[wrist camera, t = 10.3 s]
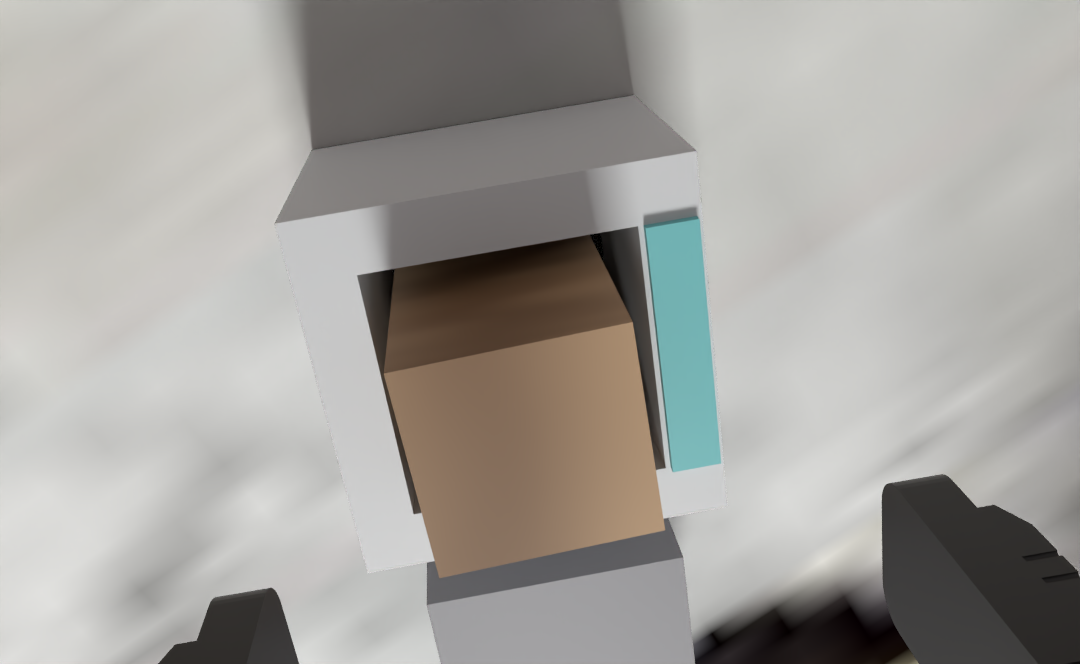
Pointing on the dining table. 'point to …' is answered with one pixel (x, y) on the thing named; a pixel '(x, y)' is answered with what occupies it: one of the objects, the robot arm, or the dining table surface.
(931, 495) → the robot arm
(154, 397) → the dining table surface
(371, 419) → the white microwave oven
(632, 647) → the gray square block
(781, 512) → the dining table surface
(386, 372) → the block
